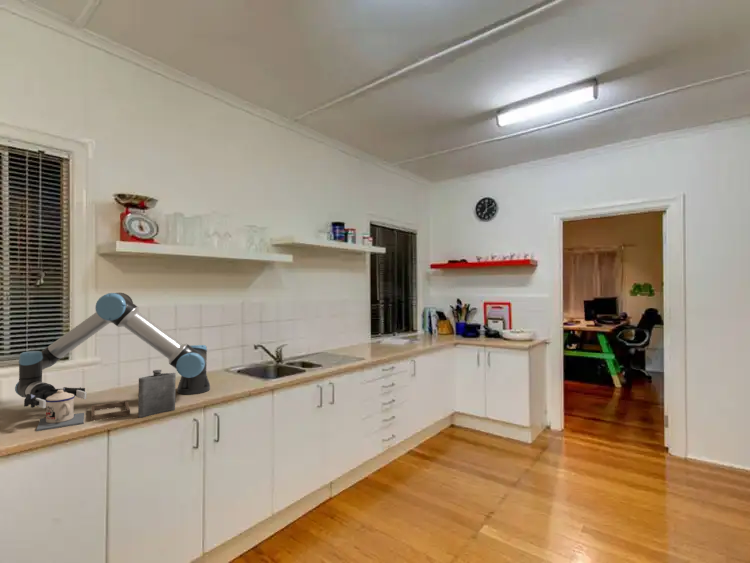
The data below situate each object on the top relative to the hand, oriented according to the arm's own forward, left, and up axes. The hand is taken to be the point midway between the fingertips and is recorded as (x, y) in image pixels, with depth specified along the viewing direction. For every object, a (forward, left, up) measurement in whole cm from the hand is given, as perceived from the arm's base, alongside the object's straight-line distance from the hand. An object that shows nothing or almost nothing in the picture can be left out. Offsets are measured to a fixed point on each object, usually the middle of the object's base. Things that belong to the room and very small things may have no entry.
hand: (65, 399), depth 156 cm
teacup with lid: (+1, -3, -9) cm, 9 cm away
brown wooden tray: (-15, -6, -9) cm, 18 cm away
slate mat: (+1, -3, -9) cm, 10 cm away
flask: (-31, +5, -9) cm, 33 cm away
